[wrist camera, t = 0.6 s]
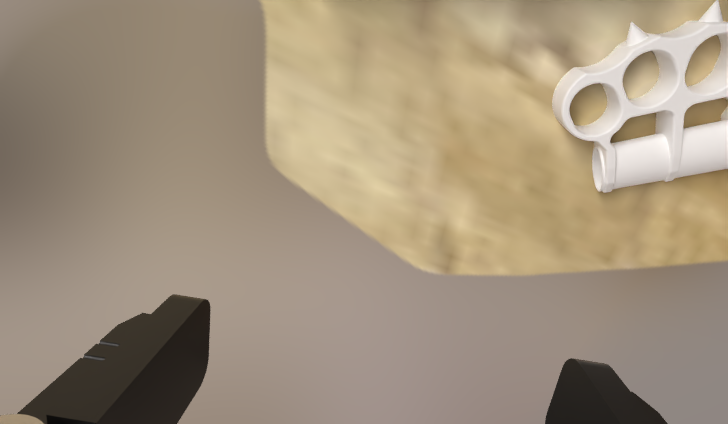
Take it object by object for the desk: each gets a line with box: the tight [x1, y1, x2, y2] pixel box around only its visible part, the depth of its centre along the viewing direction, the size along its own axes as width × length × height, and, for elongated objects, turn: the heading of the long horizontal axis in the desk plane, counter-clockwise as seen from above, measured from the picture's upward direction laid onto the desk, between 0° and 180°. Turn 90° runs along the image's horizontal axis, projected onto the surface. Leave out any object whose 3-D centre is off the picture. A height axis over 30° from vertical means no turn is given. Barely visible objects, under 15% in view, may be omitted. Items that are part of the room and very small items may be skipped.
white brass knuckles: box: [552, 0, 728, 193], centre depth 35 cm, size 3×18×15 cm
